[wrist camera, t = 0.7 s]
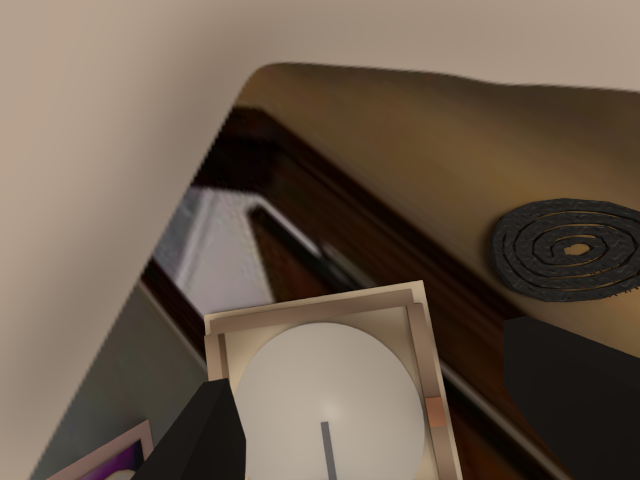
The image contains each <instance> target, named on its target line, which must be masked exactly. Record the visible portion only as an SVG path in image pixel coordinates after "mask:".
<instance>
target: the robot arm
mask: <svg viewBox="0 0 640 480" xmlns="http://www.w3.org/2000/svg"><path fill="white" fill-rule="evenodd" d="M503 385H504V387H505V388H506V390H507V391H508V393H509V394H510V396H511V397H512V399H513V401H514V402H515V404H516V405H517V407H518V408H519V410H520V411H521V412H522V414H523V415H524V417H525V418H526V420H527V421H528V423H529V424H530V425H531V426H532V427H533V429H534V430H535V431H536V432H537V434H538V435H539V436H540V437H541V438H542V440H543V441H544V442H545V443H546V444H547V446H548V447H549V448H550V449H551V450H552V452H553V453H554V454H555V455H556V456H557V457H558V459H559V460H560V461H561V462H562V463H563V465H564V466H565V467H566V468H567V469H568V470H569V472H570V473H571V474H572V475H573V476H574V477H575V479H576V480H640V358H638V357H635V356H632V355H630V354H627V353H624V352H622V351H619V350H616V349H614V348H611V347H608V346H606V345H603V344H601V343H598V342H595V341H593V340H590V339H587V338H585V337H582V336H580V335H577V334H575V333H572V332H569V331H567V330H564V329H561V328H559V327H556V326H553V325H551V324H548V323H545V322H542V321H540V320H537V319H533V318H530V317H527V316H525V317H521V318H516V319H511V320H506V321H504V373H503ZM245 472H246V437H245V434H244V430H243V427H242V424H241V420H240V417H239V413H238V410H237V407H236V403H235V400H234V397H233V393H232V390H231V386H230V383H229V380H228V378H223V379H218V380H213V381H208V382H204V383H203V384H202V385H201V386H200V388H199V389H198V390H197V392H196V393H195V394H194V396H193V397H192V399H191V400H190V401H189V403H188V404H187V405H186V407H185V408H184V409H183V411H182V412H181V414H180V415H179V416H178V418H177V419H176V420H175V422H174V423H173V424H172V426H171V427H170V429H169V430H168V431H167V433H166V434H165V435H164V437H163V438H162V439H161V441H160V442H159V443H158V444H157V446H156V447H155V448H154V450H153V451H152V452H151V454H150V455H149V456H148V458H147V459H146V460H145V462H144V463H143V464H142V465H141V467H140V468H139V469H138V470H137V471H136V473H135V474H134V475H133V476H132V478H131V479H130V480H245Z"/></svg>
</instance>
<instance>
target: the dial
mask: <svg viewBox="0 0 640 480" xmlns="http://www.w3.org/2000/svg"><path fill="white" fill-rule="evenodd" d="M235 403H236V407H237V410H238V413H239V417H240V420H241V424H242V427H243V430H244V434H245V437H246V473H247V475H248V477H249V479H250V480H413V479H414V477H415V475H416V472H417V470H418V468H419V465H420V461H421V457H422V454H423V447H424V417H423V410H422V406H421V402H420V399H419V396H418V393H417V390H416V388H415V385H414V383H413V380H412V379H411V377H410V375H409V373H408V371H407V369H406V368H405V367H404V365H403V364H402V362H401V361H400V360H399V358H398V357H397V356H396V355H395V354H394V353H393V352H392V351H391V349H389V348H388V347H387V346H386V345H385V344H384V343H382V342H381V341H380V340H379V339H377V338H375V337H374V336H372V335H371V334H369V333H367V332H365V331H363V330H361V329H359V328H356V327H353V326H350V325H347V324H342V323H337V322H312V323H307V324H303V325H299V326H297V327H294V328H291V329H289V330H287V331H285V332H283V333H281V334H279V335H278V336H276V337H275V338H273V339H272V340H270V341H269V342H268V343H266V344H265V345H264V346H263V347H262V348H261V349H260V350H259V351H258V352H257V353H256V355H255V356H254V357H253V358H252V360H251V361H250V363H249V364H248V366H247V367H246V369H245V371H244V373H243V375H242V377H241V379H240V382H239V385H238V388H237V391H236V394H235Z"/></svg>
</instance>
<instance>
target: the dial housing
mask: <svg viewBox="0 0 640 480" xmlns="http://www.w3.org/2000/svg"><path fill="white" fill-rule="evenodd" d="M204 320H205V329H206V336H204V339H205V348H206V358H207V367H208V376H209V381H213V380H218V379H223V378H228V380H229V383H230V386H231V390H232V393H233V397H234V400H235V394H236V391H237V388H238V385H239V382H240V379H241V377H242V375H243V373H244V371H245V369H246V367H247V366H248V364H249V363H250V361H251V360H252V358H253V357H254V356H255V355H256V353H257V352H258V351H259V350H260V349H261V348H262V347H263V346H264V345H265V344H266V343H268V342H269V341H270V340H272V339H273V338H275V337H276V336H278V335H279V334H281V333H283V332H285V331H287V330H289V329H291V328H294V327H297V326H299V325H303V324H307V323H312V322H337V323H342V324H347V325H350V326H353V327H356V328H359V329H361V330H363V331H365V332H367V333H369V334H371V335H372V336H374V337H375V338H377V339H379V340H380V341H381V342H382V343H384V344H385V345H386V346H387V347H388V348H389V349H391V351H392V352H393V353H394V354H395V355H396V356H397V357H398V358H399V360H400V361H401V362H402V364H403V365H404V367H405V368H406V369H407V371H408V373H409V375H410V377H411V379H412V380H413V383H414V385H415V388H416V390H417V393H418V396H419V399H420V402H421V406H422V410H423V417H424V447H423V454H422V457H421V461H420V465H419V468H418V470H417V472H416V475H415V477H414V479H413V480H463V479H462V474H461V469H460V464H459V459H458V454H457V449H456V444H455V439H454V434H453V429H452V424H451V419H450V414H449V409H448V404H447V399H446V394H445V389H444V384H443V379H442V375H441V370H440V365H439V360H438V355H437V350H436V345H435V340H434V335H433V330H432V325H431V320H430V315H429V310H428V305H427V300H426V295H425V290H424V285H423V280H420V281H414V282H408V283H402V284H395V285H389V286H383V287H376V288H370V289H364V290H358V291H351V292H345V293H339V294H332V295H326V296H320V297H314V298H307V299H301V300H295V301H288V302H282V303H276V304H270V305H263V306H257V307H251V308H245V309H238V310H232V311H226V312H219V313H213V314H207V315H204ZM245 480H250V479H249V477H248V475H247V473H246V472H245Z"/></svg>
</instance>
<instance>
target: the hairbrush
mask: <svg viewBox="0 0 640 480" xmlns="http://www.w3.org/2000/svg"><path fill="white" fill-rule="evenodd" d="M566 211H589V212H598V213H603V214H609V215H614V216H618V217H621V218H617V217H613V216H608V215H603V214H594V213H571V212H566ZM556 212H566V213H561V214H556V215H552V216H548V217H544V218H540V219H538V220H535V221H533V220H534V219H536V218H538V217H541V216H543V215H546V214H549V213H556ZM622 218H623V219H622ZM531 221H533V222H532V223H530V222H531ZM528 223H530V224H528ZM527 224H528V225H527ZM568 224H599V225H605V226H564V227H561V228H558V229H554V230H551V231H547V232H544V231H545V230H547V229H550V228H553V227H556V226H561V225H568ZM525 225H526V226H525ZM524 226H525V227H524ZM607 226H611V227H613V228H615V229H617V230H619V231H617V230H614V229H612V228H609V227H607ZM523 227H524V228H523ZM521 228H523V229H522V230H521V231H520V232H519V233H518V231H519V230H520V229H521ZM620 231H621V232H620ZM543 232H544V233H543ZM622 232H623V233H622ZM541 233H542V234H541ZM540 234H541V235H540ZM578 234H581V235H593V236H595V237H596V238H586V237H571V238H567V239H563V240H559V241H557V242H555V241H556V240H557V239H558V237H560V238H563V237H564V236H571V235H578ZM539 235H540V236H539ZM537 236H538V237H537ZM536 237H537V238H536ZM535 238H536V239H535ZM534 239H535V240H534ZM554 242H555V243H554ZM603 243H604V244H605V246H604V244H603ZM575 244H588V246H589V248H590V250H591V251H589V252H586V253H583V254H580V255H570V254H569V255H565V251H564V248H567V247H571V246H572V245H575ZM490 252H491V265H492V266H493V268H494V269H495V270H496V272H497V273H498V275H499V276H500V278H501V279H502V280H503V281H504V282H505V283H506V284H507V286H508V287H509V288H510V289H511V290H513V291H516V292H519V293H522V294H525V295H527V296H529V297H533V298H536V299H539V300H542V301H545V302H574V301H586V300H597V299H603V298H607V297H611V296H612V295H615V296H617V294H618V293H621V292H625V293H627V292H626V291H627V290H629V291H630V292H631V290H630V289H633V288H636V289H639V288H637V287H639V286H640V273H639V272H640V212H639V211H636V210H633V209H630V208H627V207H623V206H620V205H617V204H614V203H611V202H605V201H593V200H580V199H568V198H561V199H553V200H546V201H538V202H532V203H530V204H527V205H524V206H521V207H518V208H516V209H515V210H513V211H511V212H509V213H508V214H506V215H504V216H502V217H501V218H500V220H499V221H498V222H497V225H496V227H495V230H494V231H493V233H492V235H491V237H490ZM632 252H633V253H632ZM602 253H603V255H602V256H601V257H599V256H600V255H601V254H602ZM631 253H632V254H631ZM630 254H631V255H630ZM629 255H630V256H629ZM597 257H599V258H597ZM594 258H597V259H596V260H593V259H594ZM624 259H625V260H624ZM589 260H593V261H592V262H590V263H588V264H585V265H580V266H575V267H560V268H559V267H554V266H550V265H569V264H577V263H584V262H588V261H589ZM623 260H624V261H623ZM622 261H623V262H622ZM621 262H622V263H621ZM545 264H547V265H545ZM619 264H620V265H619ZM617 265H619V266H618V267H617V268H614V267H616V266H617ZM609 268H611V269H612V270H609V271H606V272H604V273H601V274H598V275H593V276H587V277H582V278H570V279H559V280H554V279H548V278H550V277H562V276H574V275H575V276H576V275H585V274H589V273H590V274H592V273H594V274H596V273H595V272H597V271H600V272H603V271H601V270H605V269H609ZM636 272H637V273H638V274H637V273H636ZM634 273H636V274H635V275H633V276H631V277H629V276H630V275H632V274H634ZM535 275H539V276H535ZM540 276H543V277H540ZM544 277H547V278H544ZM627 277H629V278H627ZM625 278H626V279H625ZM617 280H622V281H619V282H617V283H615V281H617ZM611 282H613V283H615V284H613V285H609V286H605V287H601V288H597V289H592V290H585V291H578V292H565V291H557V290H549V289H541V288H534V287H533V286H531V285H534V286H536V287H542V288H551V289H578V288H593V287H597V286H600V285H604V284H607V283H611ZM528 283H529V284H528ZM530 284H531V285H530Z"/></svg>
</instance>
